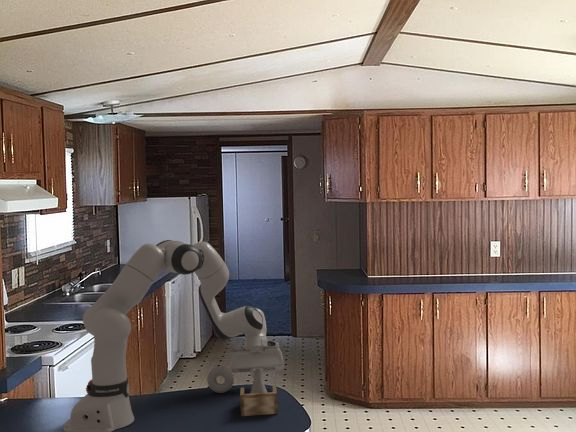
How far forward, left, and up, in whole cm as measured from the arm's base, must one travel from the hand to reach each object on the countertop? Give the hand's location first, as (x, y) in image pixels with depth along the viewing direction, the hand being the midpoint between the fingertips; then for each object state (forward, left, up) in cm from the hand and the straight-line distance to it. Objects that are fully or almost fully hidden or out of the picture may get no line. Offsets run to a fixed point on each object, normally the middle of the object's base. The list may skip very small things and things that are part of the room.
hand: (257, 380), depth 232 cm
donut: (-14, +2, -4) cm, 15 cm away
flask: (0, -5, -4) cm, 7 cm away
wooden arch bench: (0, -17, -4) cm, 18 cm away
